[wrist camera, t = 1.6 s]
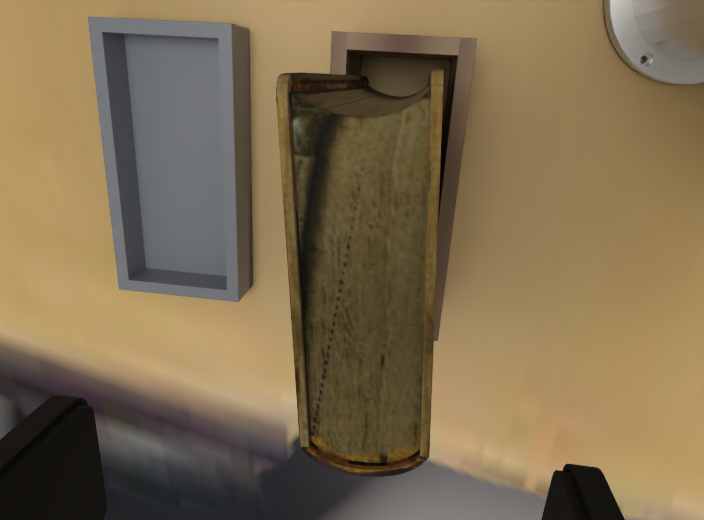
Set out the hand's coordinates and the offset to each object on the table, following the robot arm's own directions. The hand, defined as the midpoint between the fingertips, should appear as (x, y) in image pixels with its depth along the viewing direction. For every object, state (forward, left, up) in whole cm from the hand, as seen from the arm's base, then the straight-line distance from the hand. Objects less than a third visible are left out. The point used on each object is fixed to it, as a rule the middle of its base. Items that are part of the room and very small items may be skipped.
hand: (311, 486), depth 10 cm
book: (0, 0, -34) cm, 34 cm away
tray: (+18, 0, -34) cm, 39 cm away
